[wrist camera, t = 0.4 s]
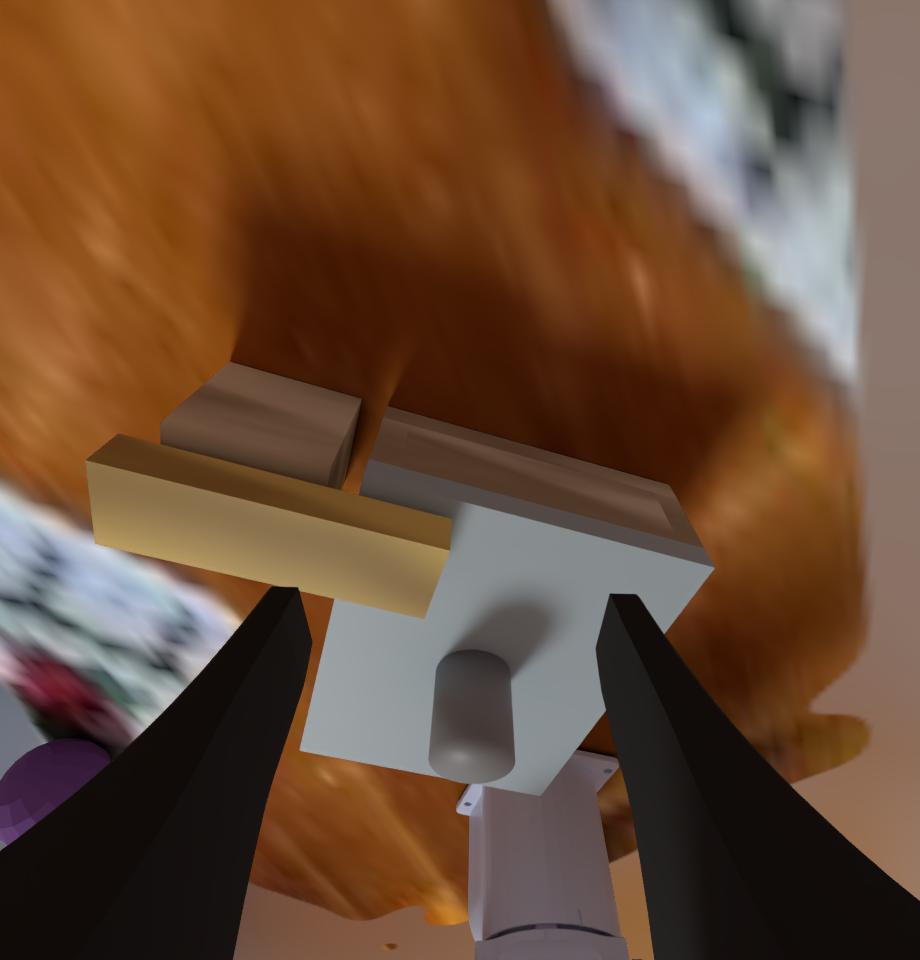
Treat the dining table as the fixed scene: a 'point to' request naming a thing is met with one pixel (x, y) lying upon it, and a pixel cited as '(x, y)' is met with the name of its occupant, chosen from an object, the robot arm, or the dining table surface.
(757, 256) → the dining table surface
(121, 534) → the yellow rectangular block
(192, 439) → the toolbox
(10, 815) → the kendama
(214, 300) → the dining table surface
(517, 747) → the lid
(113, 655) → the dining table surface
